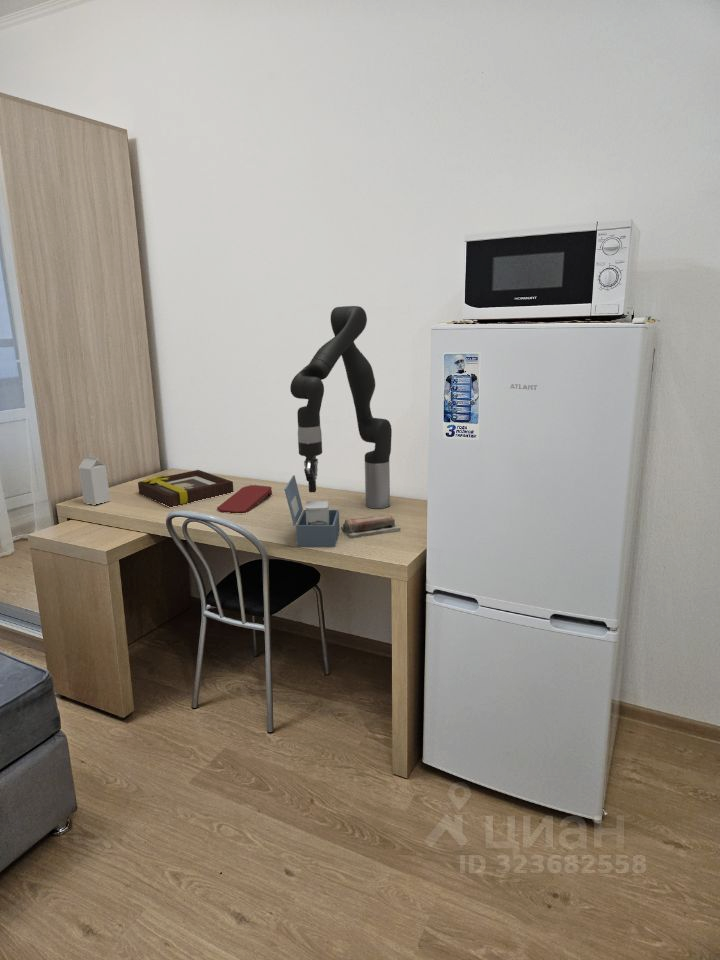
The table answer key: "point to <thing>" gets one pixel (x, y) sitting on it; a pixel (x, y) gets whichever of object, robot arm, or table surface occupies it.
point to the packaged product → (370, 526)
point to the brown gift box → (184, 487)
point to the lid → (293, 500)
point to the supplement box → (317, 513)
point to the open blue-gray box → (318, 531)
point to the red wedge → (245, 499)
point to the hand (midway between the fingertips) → (312, 491)
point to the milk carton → (94, 481)
